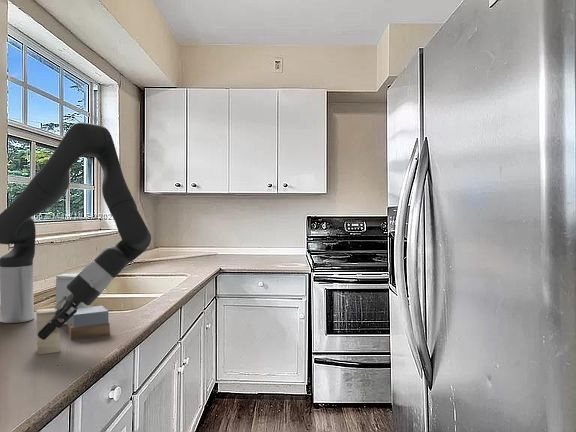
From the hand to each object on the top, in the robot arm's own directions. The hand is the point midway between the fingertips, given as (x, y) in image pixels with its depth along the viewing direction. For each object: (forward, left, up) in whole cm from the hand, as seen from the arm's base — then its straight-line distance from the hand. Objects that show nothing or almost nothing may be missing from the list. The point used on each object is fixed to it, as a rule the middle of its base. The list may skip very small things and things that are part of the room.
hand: (40, 334), depth 126 cm
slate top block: (-14, +13, -1) cm, 19 cm away
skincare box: (-29, +10, -4) cm, 31 cm away
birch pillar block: (0, +2, -4) cm, 5 cm away
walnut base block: (-14, +13, -5) cm, 19 cm away
